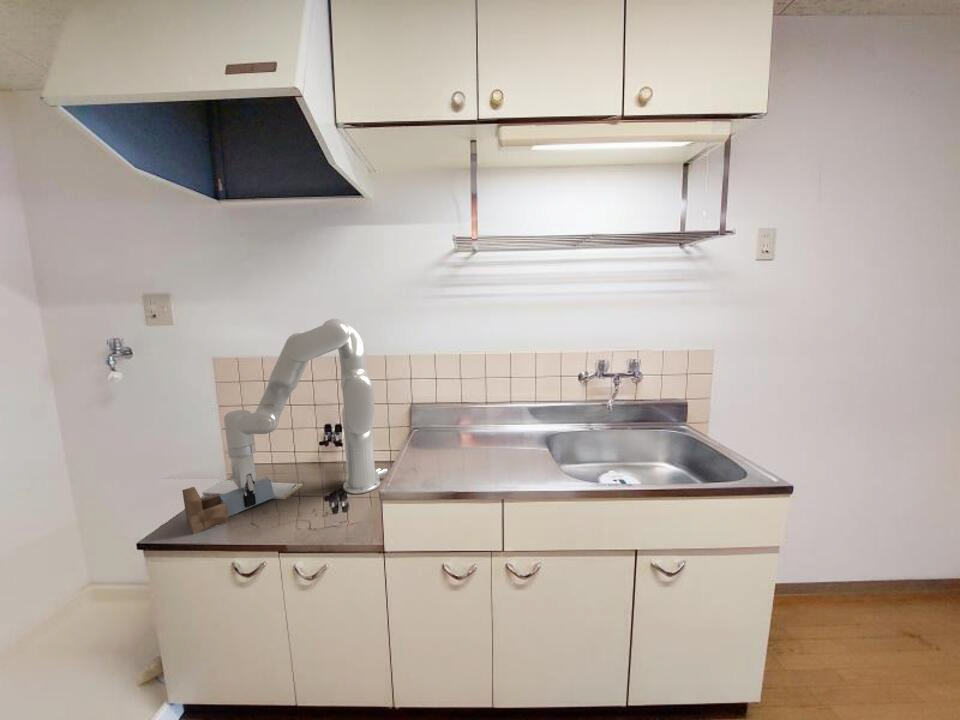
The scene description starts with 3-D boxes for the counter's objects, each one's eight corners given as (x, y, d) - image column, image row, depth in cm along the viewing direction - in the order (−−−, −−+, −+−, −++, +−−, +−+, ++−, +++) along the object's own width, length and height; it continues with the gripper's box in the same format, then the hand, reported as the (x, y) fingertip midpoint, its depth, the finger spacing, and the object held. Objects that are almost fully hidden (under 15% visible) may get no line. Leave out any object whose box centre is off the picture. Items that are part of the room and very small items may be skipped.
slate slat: (224, 512, 128) (219, 495, 127) (270, 492, 138) (266, 477, 136) (227, 517, 125) (222, 500, 124) (274, 497, 135) (270, 480, 133)
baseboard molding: (228, 480, 152) (202, 496, 140) (227, 473, 152) (201, 488, 140) (305, 484, 148) (285, 501, 136) (304, 477, 147) (284, 493, 136)
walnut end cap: (220, 509, 130) (216, 480, 129) (228, 521, 123) (224, 491, 121) (186, 520, 124) (182, 490, 123) (193, 534, 117) (188, 502, 115)
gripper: (221, 445, 131) (228, 498, 134) (235, 460, 120) (242, 517, 123) (247, 439, 137) (253, 490, 140) (262, 453, 125) (269, 508, 128)
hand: (248, 502), depth 131 cm, fingers closed on slate slat, 4 cm apart
